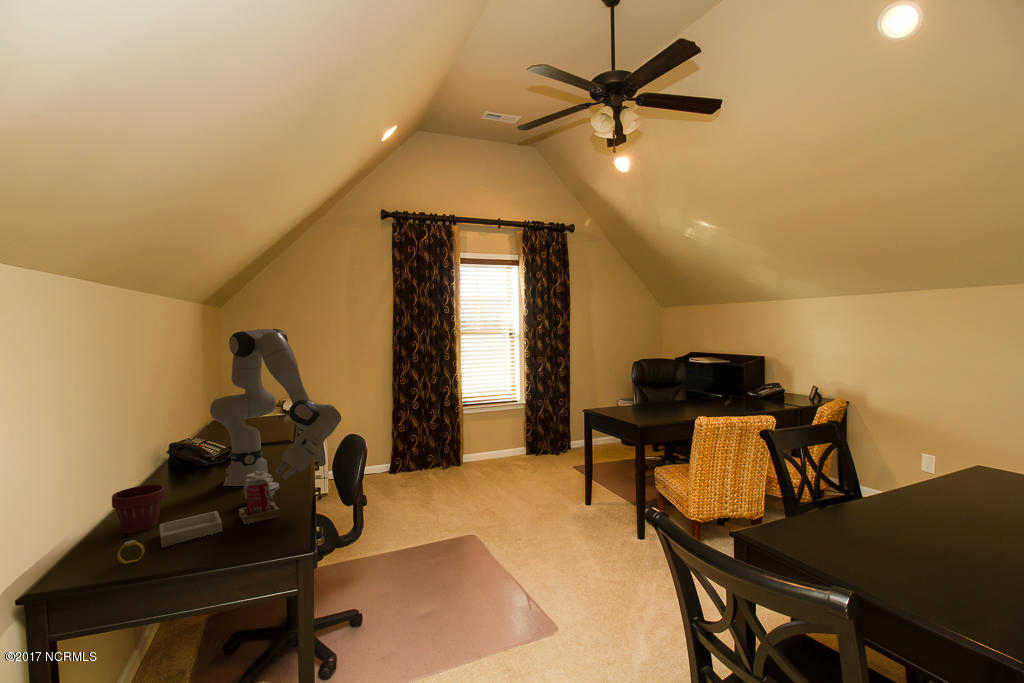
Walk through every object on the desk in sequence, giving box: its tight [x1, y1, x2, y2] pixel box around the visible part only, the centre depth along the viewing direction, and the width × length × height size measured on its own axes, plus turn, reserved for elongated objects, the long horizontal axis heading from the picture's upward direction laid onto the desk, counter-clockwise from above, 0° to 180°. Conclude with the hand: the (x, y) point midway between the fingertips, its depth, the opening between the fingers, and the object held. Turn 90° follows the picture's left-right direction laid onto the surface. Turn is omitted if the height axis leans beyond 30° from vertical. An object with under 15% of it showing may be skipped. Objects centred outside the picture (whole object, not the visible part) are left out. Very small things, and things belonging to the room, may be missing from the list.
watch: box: [116, 539, 145, 565], centre depth 134 cm, size 6×3×6 cm, turn 116°
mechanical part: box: [243, 471, 280, 500], centre depth 181 cm, size 11×12×12 cm
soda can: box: [246, 480, 271, 516], centre depth 165 cm, size 7×7×12 cm
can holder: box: [238, 500, 281, 526], centre depth 165 cm, size 11×11×2 cm
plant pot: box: [111, 483, 166, 534], centre depth 159 cm, size 14×14×13 cm
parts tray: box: [159, 510, 223, 549], centre depth 153 cm, size 13×16×4 cm
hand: (280, 475), depth 170 cm, fingers open, 8 cm apart
